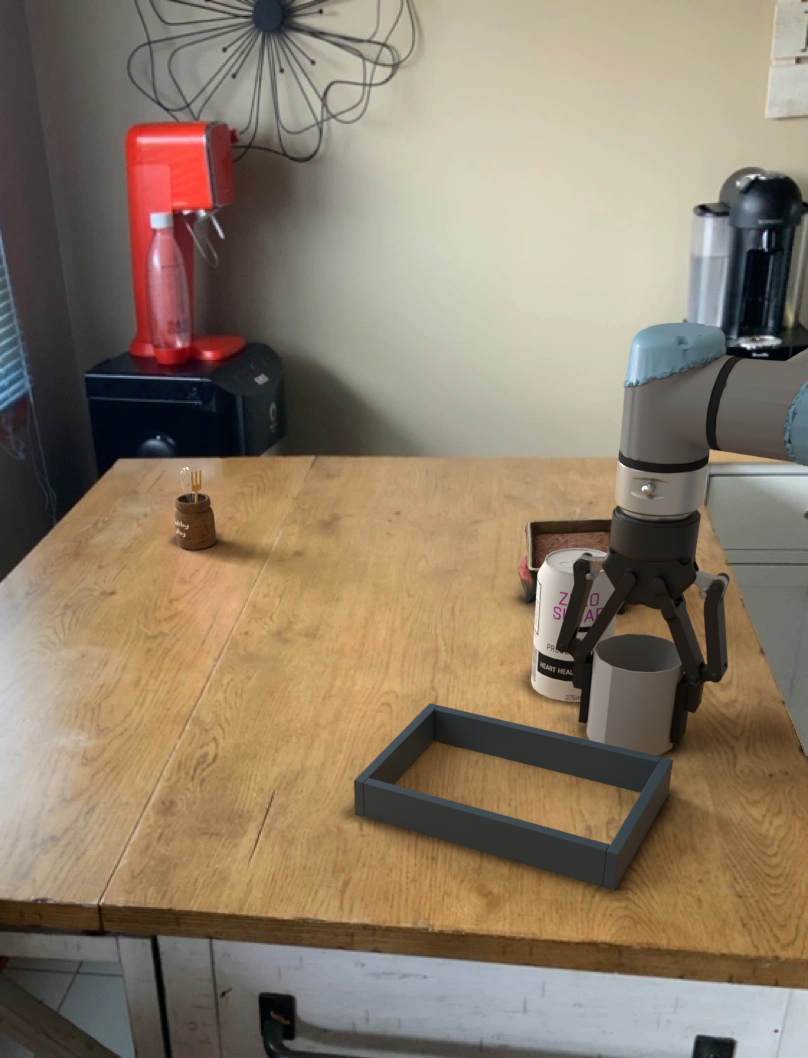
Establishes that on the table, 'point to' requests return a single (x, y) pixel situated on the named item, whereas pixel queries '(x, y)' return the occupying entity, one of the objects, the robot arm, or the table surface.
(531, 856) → the dark grey open frame
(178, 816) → the table surface
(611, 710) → the cup
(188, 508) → the utensil holder
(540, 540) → the baking dish
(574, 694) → the supplement can
